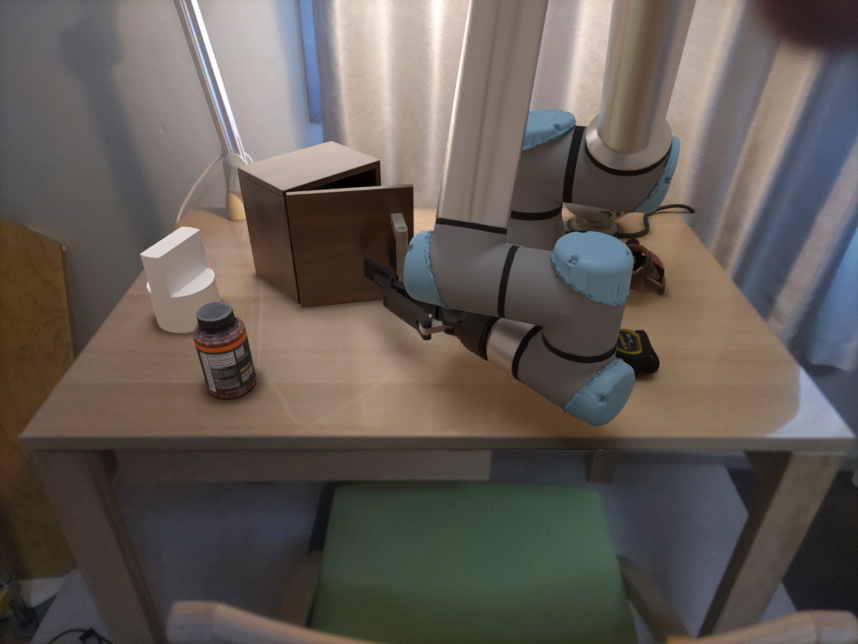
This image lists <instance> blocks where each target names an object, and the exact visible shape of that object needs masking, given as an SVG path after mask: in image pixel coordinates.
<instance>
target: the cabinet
mask: <svg viewBox="0 0 858 644" xmlns="http://www.w3.org/2000/svg"><path fill="white" fill-rule="evenodd" d="M236 171H237V176H238V183H239V188H240V193H241V199H242V204H243V210H244V216H245V221H246V226H247V232H248V238H249V243H250V249H251V254H252V260H253V266H254V270H255V275H256V276H257V277H259V278H261V279H262V280H264V281H265V282H266V283H268V284H269V285H270V286H272V287H274V288H275V289H276V290H277V291H279V292H281V293H282V294H284V295H285V296H287V297H288V298H289V299H291V300H292V301H293V302H295V303H296V304H298V305H299V304H301V300H300V293H299V285H298V278H297V271H296V264H295V256H294V249H293V242H292V235H291V227H290V220H289V213H288V206H287V198H286V193H287V192H300V191H315V190H330V189H345V188H359V187H374V186H382V172H381V171H382V169H381V159H378V158H376V157H374V156H371V155H368V154H366V153H363V152H361V151H358V150H356V149H353V148H351V147H348V146H345V145H343V144H340V143H339V142H335V141H333V140H330V141H327V142H323V143H319V144H316V145H312V146H308V147H305V148H302V149H298V150H294V151H290V152H287V153H283V154H280V155H276V156H272V157H269V158H268V157H267V158H264V159H261V160H258V161H253V162H250V163H246V164H244V165H240V166H236Z"/></svg>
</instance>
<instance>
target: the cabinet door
mask: <svg viewBox="0 0 858 644" xmlns="http://www.w3.org/2000/svg"><path fill="white" fill-rule="evenodd" d="M414 190H415V189H414V185H413V183H407V184H406V183H405V184H392V185H391V184H389V185H381V186H374V187H359V188H345V189H330V190H315V191H300V192H287V193H286V198H287V206H288V213H289V220H290V227H291V235H292V242H293V249H294V256H295V264H296V271H297V278H298V285H299V293H300V300H301V303H300V306H301V308H306V307H316V306H317V307H318V306H328V305H338V304H348V303H358V302H359V303H360V302H368V301H377V300H378V301H380V300H383V299H382V290H380V289H379V288H377V287H375V285H374V282H373V281H371V280H370V279H368V278H366V277H365V276H364V260H363V259H366V258H369V259H371V260H373V261H374V262H376V263H378V264H380V265H381V266H383V267H385V268H386V269H388V270H390V271H392V272H393V273H395V274H397V275H398V276H399V281H401V282H403V283H404V275H403V272H404V262H405V257H406V255H407V253H408V249H409V244H410V242H411V240H412V238H413V237H414V235H415V217H414V216H415V198H414V197H415V195H414V194H415V193H414V192H415V191H414ZM392 247H394V248H395V249H396V264H397V270H396V269H395V268H393V267H391V266H390V265H389V249H390V248H392Z"/></svg>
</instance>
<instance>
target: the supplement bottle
mask: <svg viewBox="0 0 858 644" xmlns="http://www.w3.org/2000/svg"><path fill="white" fill-rule="evenodd" d="M196 316H197V322H198V324H197V325H196V327H195V329H194V331H193V332H192V339H193V343H194V347H195V350H196V353H197V357H198V360H199V364H200V367H201V370H202V371H201V372H202V374H203V378H204V382H205V385H206V387H207V390H208V392H209V393H210V395H212V396H213V397H215V398H217V399H222V400H229V399H235V398H239V397H242V396H244V395H246V394H247V393H248V392H250V391H251V390H252V389H253V387H254V386H255V385H256V381H257V376H256V369H255V364H254V361H253V356H252V351H251V347H250V342H249V337H248V335H247V334H248V333H247V328H246V325H245V323H244V321H243V319H241V318H240V317H238V316H237V315H235V313H234V309H233V306H232V304H230V303H228V302H226V301H221V302H211V303H207V304H205V305H203V306H201V307H200V308H199V309H198V310H197V313H196Z"/></svg>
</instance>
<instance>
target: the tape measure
mask: <svg viewBox="0 0 858 644" xmlns="http://www.w3.org/2000/svg"><path fill="white" fill-rule="evenodd" d="M615 357H616V358H619V359H622V360H623V362H625V363H626V364H628V365H630V366H631V367H632V368H633V370H634V376H640V375H654V374H656V373H657V372H658V371H659V368H660V367H661V361H660V358H659V356H658V353H657V352H656V350H655V349H654V348H653V345H652V343H651V339H650V337H649V335H648V333H647V332H646V330H644V329H636V330H631V329H628V328H620V331H619V335H618V339H617V350H616V354H615Z"/></svg>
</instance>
